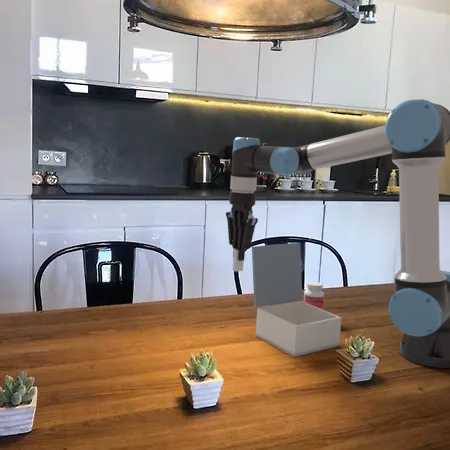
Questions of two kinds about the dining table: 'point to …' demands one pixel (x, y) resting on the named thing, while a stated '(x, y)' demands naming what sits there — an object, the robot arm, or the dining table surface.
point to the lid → (276, 274)
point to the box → (298, 327)
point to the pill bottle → (314, 294)
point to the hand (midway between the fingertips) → (237, 270)
